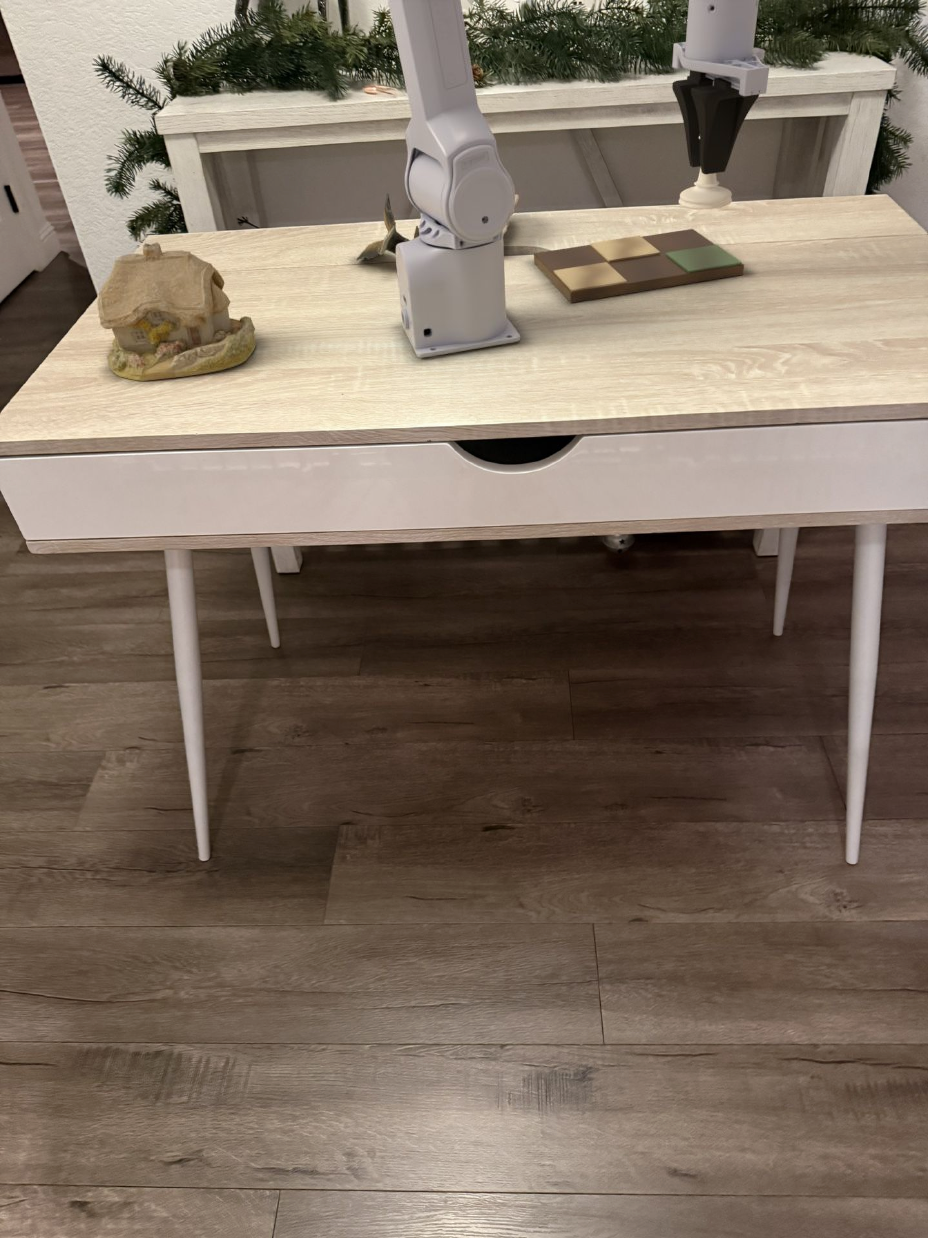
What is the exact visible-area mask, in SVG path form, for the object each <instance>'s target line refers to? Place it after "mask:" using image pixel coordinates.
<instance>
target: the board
mask: <svg viewBox="0 0 928 1238" xmlns="http://www.w3.org/2000/svg"><path fill="white" fill-rule="evenodd" d="M533 263H534V264H535V266H537V268H538V269H539V270H540V271H541V272H542V273H543V274H544V276H546V277H547V279H548V280H549V281H550V282H551V283H552V284H553V285H554V286H555V287H556V289H557V290H558V291H559V292H560V293H561V294H562V295H563V296H564V297H565V298H566V299H567V300H568V302H569V303H578V302H579V303H580V302H585V301H591V300H597V299H602V298H608V297H614V296H620V295H628V294H633V293H638V292H646V291H651V290H657V289H663V288H669V287H675V286H683V285H688V284H693V283H700V282H706V281H713V280H718V279H724V278H730V277H731V278H732V277H736V276H742V275H744V270H745V264H744V263H743V262H742V261H741V260H739V259H738V258H736V257H735V256H734V255H732V254H731V253H730V252H728V251H727V250H725V249H724V248H722V247H721V246H719V245H718V244H715V243H714V242H712V241H711V240H709V239H708V238H707V237H705V236H704V235H702V234H701V233H699V232H698V231H697V230H695V229H693V228H688V229H682V230H675V231H670V232H662V233H657V234H650V235H644V236H641V235H635V236H627V237H621V238H613V239H608V240H602V241H595V242H590V243H589V244H586V245H585V244H584V245H579V246H573V247H565V248H560V249H553V250H547V251H540V252H535V253H533Z"/></svg>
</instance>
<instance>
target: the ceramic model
mask: <svg viewBox="0 0 928 1238" xmlns="http://www.w3.org/2000/svg"><path fill="white" fill-rule="evenodd" d="M224 286H225V280H224V279H223V276H222V275H221V274H220V272H219V271H218V269H216V267H214V266H213V264H212V263H211V262H208V261H206V260H203V259H201V258H199V257H198V256H196V255H195V254H192V253H191V251H190V250H189V251H187V250H186V251H185V250H181V249H180V250H167V251H163V250H162V248H161V244H160V243H159V242H154V243H151V244H150V243H144V244H143V246H142V253H129V254H124V255H121V256H119V257H118V258H117V259H115V261H114V264H113V267H112V270H111V272H110V274H109V276H108V277H107V280H106V281H105V282H104V283H103V285H102V286H101V289H100V290H99V292H98V298H97V302H96V303H97V310H98V313H99V314H98V318H99V321H100V325H101V327H102V328H103V329H105V330H112V333H113V335H114V338H113V340H112V342H111V345H112V347H113V348H112V349H109V351H108V354H107V355H106V357H107V358H106V359H107V364H108V366H109V369H110V370H111V371H112V372H113V373H114V374H115V375H116V376H118V377H119V378H125V379H128V380H134V381H139V382H145V381H157V380H163V379H164V380H165V379H172V378H174V379H175V378H180V377H189V376H197V375H203V374H208V373H213V372H218V371H223V370H225V369H227V370H228V369H231V368H232V367H236V366H239V365H240V364H242V363H244V362H246V361H247V360H248V358H250V356H251V355H252V353H253V352H254V351H255V348H256V339H255V330H256V328H255V325H254V323H253V320H252V318H251V317H250V316H247V315H246V316H245V315H244V316H242V317H240V318H239V319H235V318H231V317H230V313H229V307H230V304H231V300H230V299H229V297H228V295H227V294H226V293H225V291H223V289H224V288H225V287H224Z"/></svg>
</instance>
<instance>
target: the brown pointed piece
mask: <svg viewBox="0 0 928 1238" xmlns="http://www.w3.org/2000/svg"><path fill="white" fill-rule="evenodd" d="M383 223H384V226H385V228H386V230H387V234H386V235H385V237H384V238H383V239H381V240H376V241H373V242H372V243H369V244H368V245H367V246H365V248H364V249H363V251H362V252H361V253H360V254H359V256H358V257H357V258H356V261H359V260H360V259H364V258H366V259H367V260H371V259H376V257H378V256H379V255H380V256H383V255H384V254H385V253H386V251H387V252H390V253H392V254H394V255H395V256H396V245H397V244H399V243H402V242H407V241H410V240H411V239H409V238H407V237H406V236H405V237H404V236H403V235H402V234H400V233H399V232H398V231H397V228H396V226H397V225H396V224H397V223H396V221H395V217H394V214H393V212H392V207H391V199H390V195H389V193H386V198H385V202H384V208H383ZM418 236H419V225H415V230H414V234H413V239H415V238H417V237H418Z"/></svg>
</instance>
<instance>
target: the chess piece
mask: <svg viewBox="0 0 928 1238" xmlns="http://www.w3.org/2000/svg"><path fill="white" fill-rule="evenodd" d="M713 86H714V81H713ZM699 139H700V136H699ZM693 185H694V186H691V187H688V188H686V189H683V191H681V192H680V193H679V199H678V204H679V205H680V206H682V207H684V208H688V209H693V210H713V209H714V210H715V209H719V208H720V209H721V208H725V207H727V206H729V205H731V204H732V203H733V198H732V196H733V193H732V191H731V190H730V189H728V188H726V187H723V186H721V185H720V181H719V180H717V173H713V174H703V173H702V171H701V167H699V173H698V177H697V180H696V181H695V182H693Z"/></svg>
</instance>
